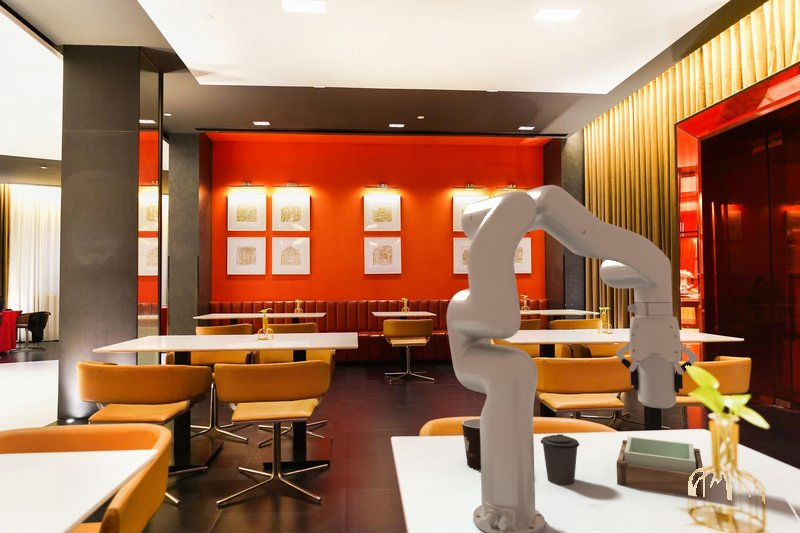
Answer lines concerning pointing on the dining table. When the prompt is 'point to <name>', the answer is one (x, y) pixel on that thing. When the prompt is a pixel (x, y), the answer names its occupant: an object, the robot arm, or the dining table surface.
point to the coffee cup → (560, 458)
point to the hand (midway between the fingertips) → (656, 389)
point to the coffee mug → (472, 442)
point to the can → (656, 382)
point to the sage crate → (660, 454)
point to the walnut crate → (658, 476)
